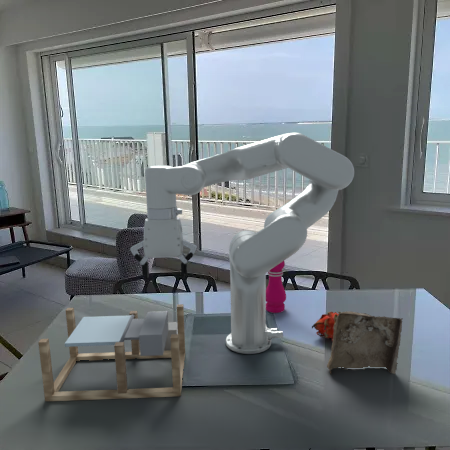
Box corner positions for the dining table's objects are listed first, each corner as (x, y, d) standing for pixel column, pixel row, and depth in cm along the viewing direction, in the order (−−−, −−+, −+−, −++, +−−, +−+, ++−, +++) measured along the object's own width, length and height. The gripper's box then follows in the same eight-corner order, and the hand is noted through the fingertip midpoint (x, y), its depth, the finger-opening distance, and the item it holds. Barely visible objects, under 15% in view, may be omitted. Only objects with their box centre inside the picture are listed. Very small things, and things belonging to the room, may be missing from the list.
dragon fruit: (358, 346, 116) (314, 349, 118) (352, 319, 122) (311, 323, 124) (358, 331, 110) (312, 335, 112) (352, 303, 115) (309, 308, 118)
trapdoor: (168, 327, 106) (167, 309, 105) (162, 357, 92) (161, 336, 91) (85, 330, 106) (83, 312, 105) (65, 360, 91) (63, 339, 90)
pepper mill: (271, 303, 143) (271, 247, 139) (289, 308, 139) (290, 250, 135) (260, 310, 137) (260, 252, 133) (279, 315, 133) (280, 255, 129)
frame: (185, 354, 110) (183, 304, 107) (180, 396, 92) (178, 337, 89) (72, 358, 109) (67, 307, 106) (45, 401, 91) (38, 342, 88)
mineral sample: (328, 375, 99) (330, 315, 96) (325, 366, 103) (327, 308, 100) (400, 375, 98) (404, 315, 95) (394, 366, 102) (398, 308, 99)
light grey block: (178, 341, 117) (177, 321, 116) (177, 350, 112) (176, 329, 111) (160, 342, 117) (159, 322, 116) (158, 351, 112) (157, 330, 111)
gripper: (196, 210, 111) (198, 272, 115) (131, 212, 111) (134, 273, 114) (195, 215, 104) (197, 280, 107) (125, 217, 103) (129, 282, 107)
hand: (165, 277), depth 111 cm, fingers open, 9 cm apart
